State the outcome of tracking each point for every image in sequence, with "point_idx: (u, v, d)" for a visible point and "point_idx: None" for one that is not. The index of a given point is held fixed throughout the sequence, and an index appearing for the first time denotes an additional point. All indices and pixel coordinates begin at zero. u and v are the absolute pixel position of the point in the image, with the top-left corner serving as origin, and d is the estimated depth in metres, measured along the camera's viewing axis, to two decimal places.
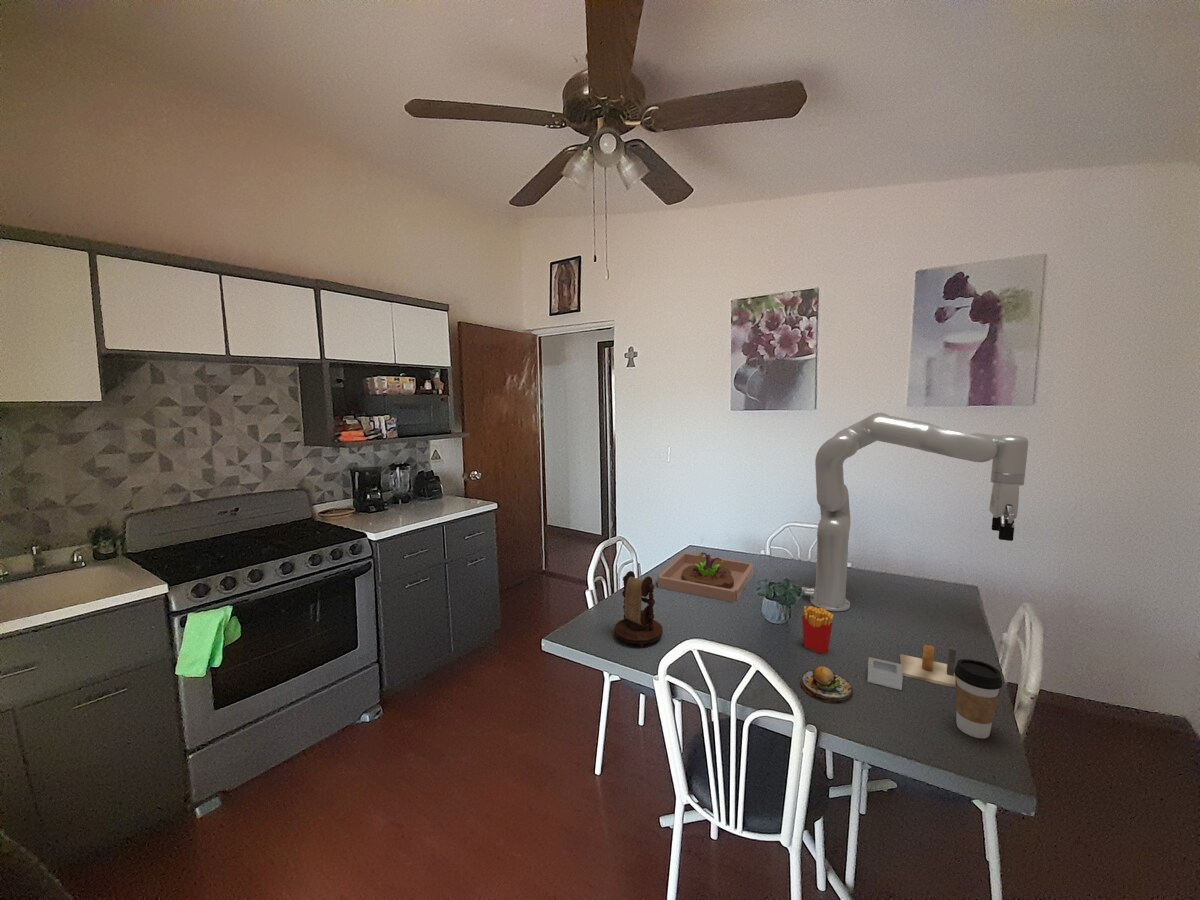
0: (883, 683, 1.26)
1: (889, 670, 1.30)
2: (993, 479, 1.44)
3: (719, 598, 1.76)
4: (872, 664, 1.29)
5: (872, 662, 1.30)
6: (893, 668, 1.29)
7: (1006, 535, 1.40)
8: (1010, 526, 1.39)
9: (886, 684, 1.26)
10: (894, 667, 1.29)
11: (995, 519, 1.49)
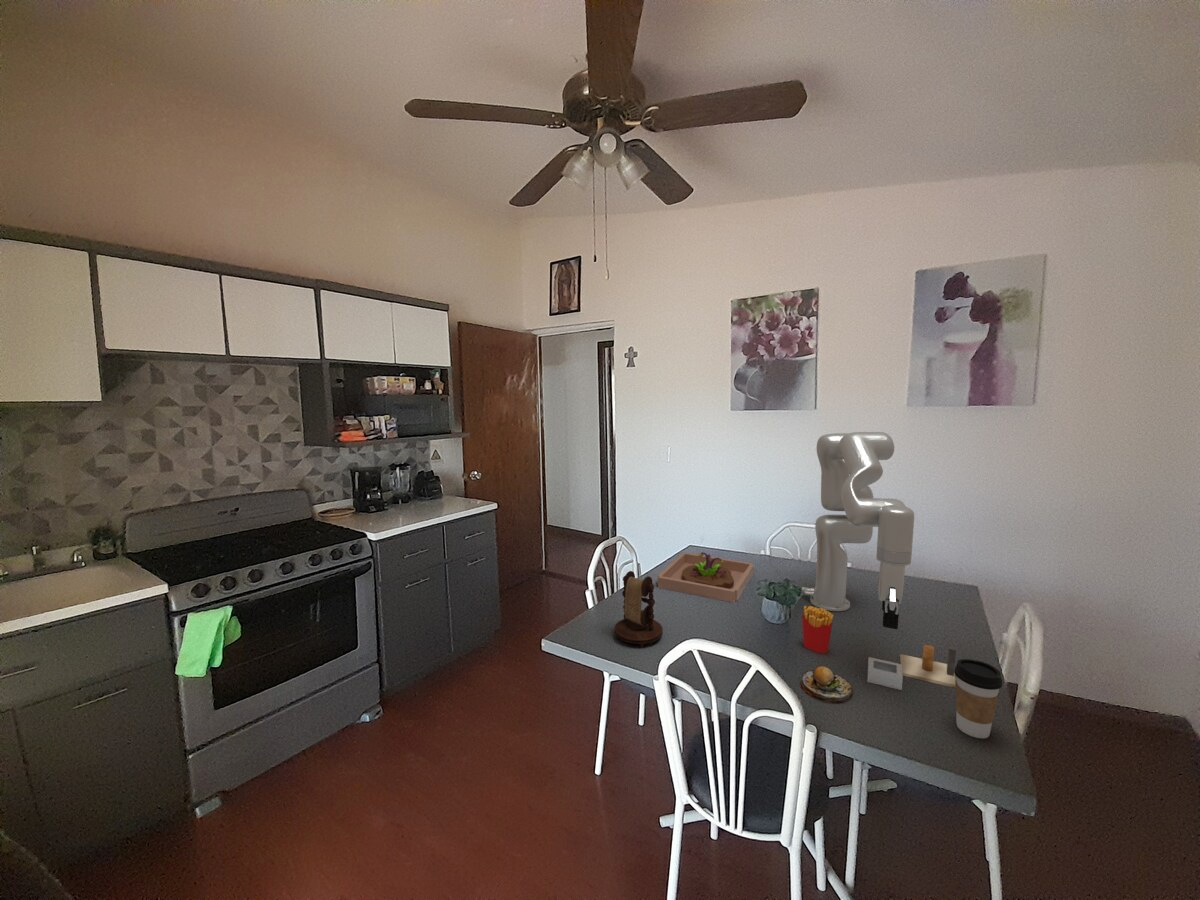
0: (883, 683, 1.26)
1: (889, 670, 1.30)
2: (878, 556, 1.25)
3: (719, 598, 1.76)
4: (872, 664, 1.29)
5: (872, 662, 1.30)
6: (893, 668, 1.29)
7: (890, 623, 1.21)
8: (893, 613, 1.20)
9: (886, 684, 1.26)
10: (894, 667, 1.29)
11: None
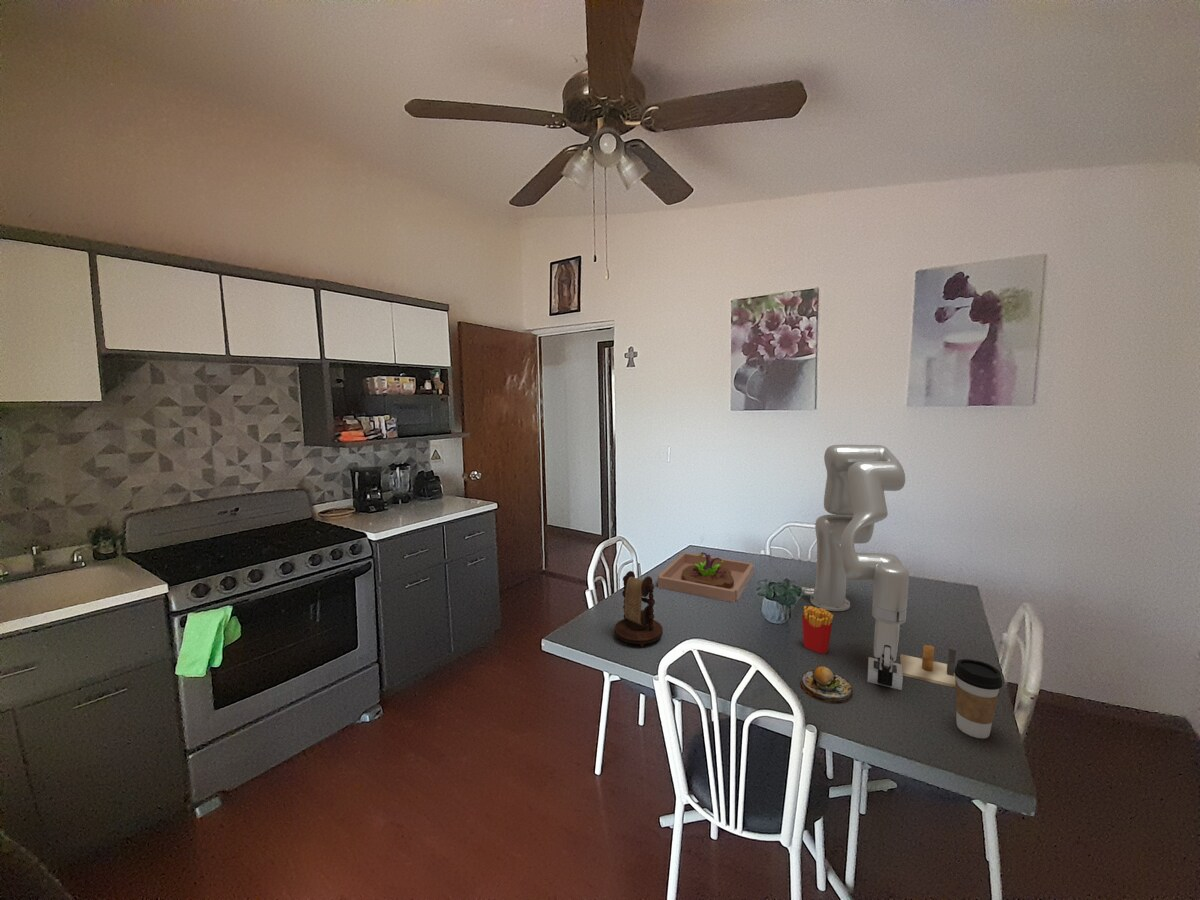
0: None
1: None
2: (873, 612, 1.27)
3: (719, 598, 1.76)
4: (872, 664, 1.29)
5: (872, 662, 1.30)
6: (893, 668, 1.29)
7: (884, 680, 1.25)
8: (888, 671, 1.23)
9: None
10: (894, 667, 1.29)
11: None
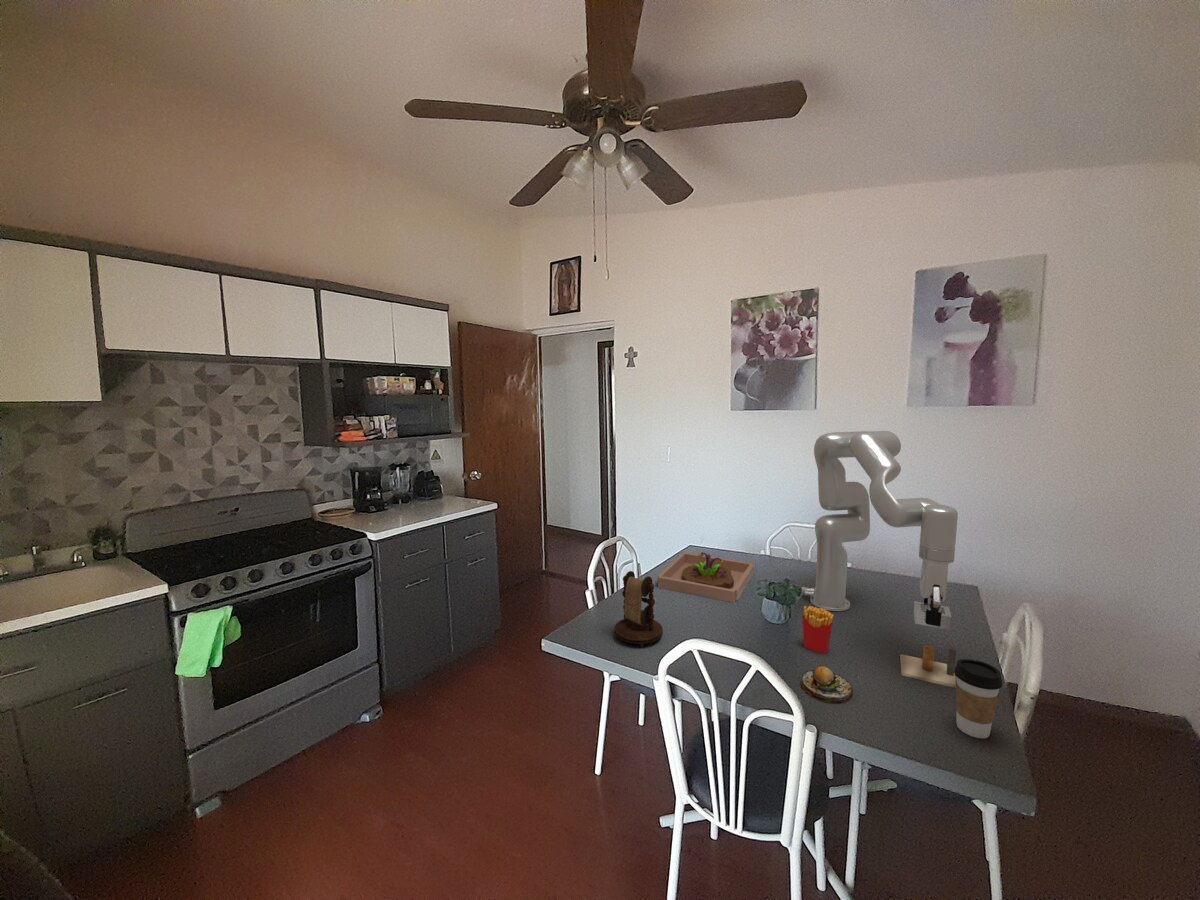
0: None
1: None
2: (921, 554, 1.27)
3: (719, 598, 1.76)
4: (919, 607, 1.30)
5: (919, 605, 1.31)
6: None
7: (933, 620, 1.25)
8: (936, 611, 1.24)
9: None
10: (941, 609, 1.30)
11: (926, 600, 1.32)
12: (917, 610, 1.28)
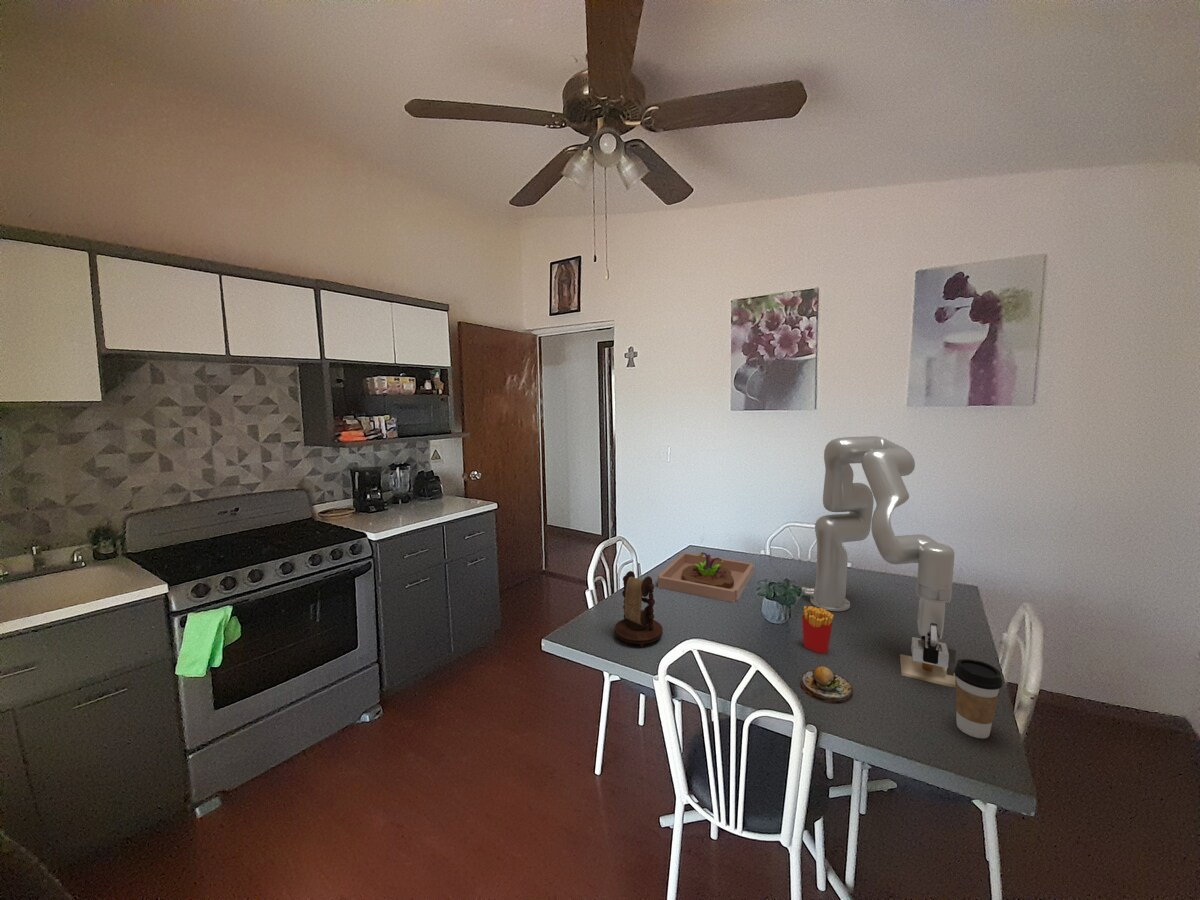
0: None
1: None
2: (918, 592, 1.29)
3: (719, 598, 1.76)
4: (917, 643, 1.32)
5: (916, 641, 1.32)
6: None
7: (930, 658, 1.27)
8: (934, 649, 1.26)
9: None
10: (938, 646, 1.31)
11: (924, 637, 1.34)
12: (915, 647, 1.30)
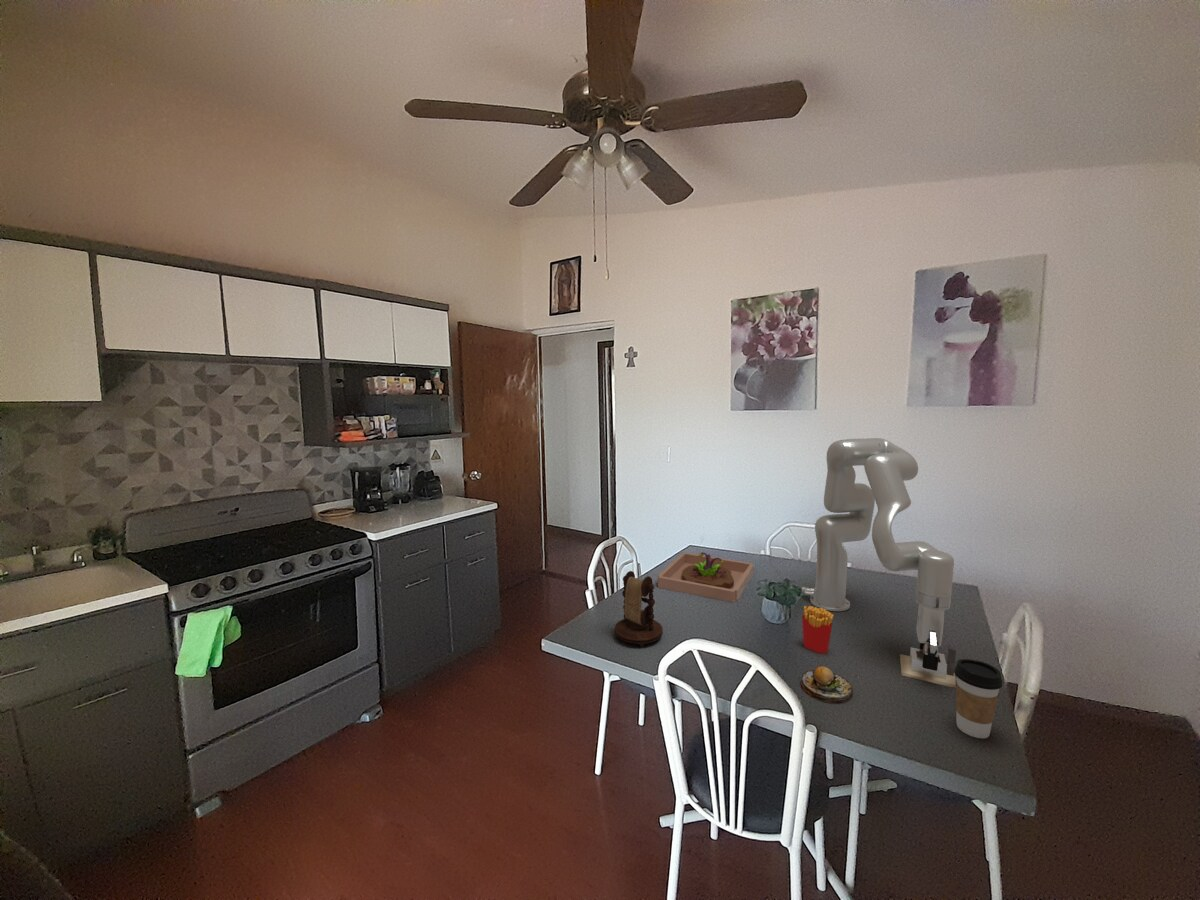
0: (927, 672, 1.29)
1: None
2: (917, 599, 1.29)
3: (719, 598, 1.76)
4: (915, 654, 1.32)
5: (915, 652, 1.33)
6: None
7: (930, 664, 1.26)
8: (933, 655, 1.25)
9: (930, 673, 1.29)
10: None
11: None
12: (913, 658, 1.30)
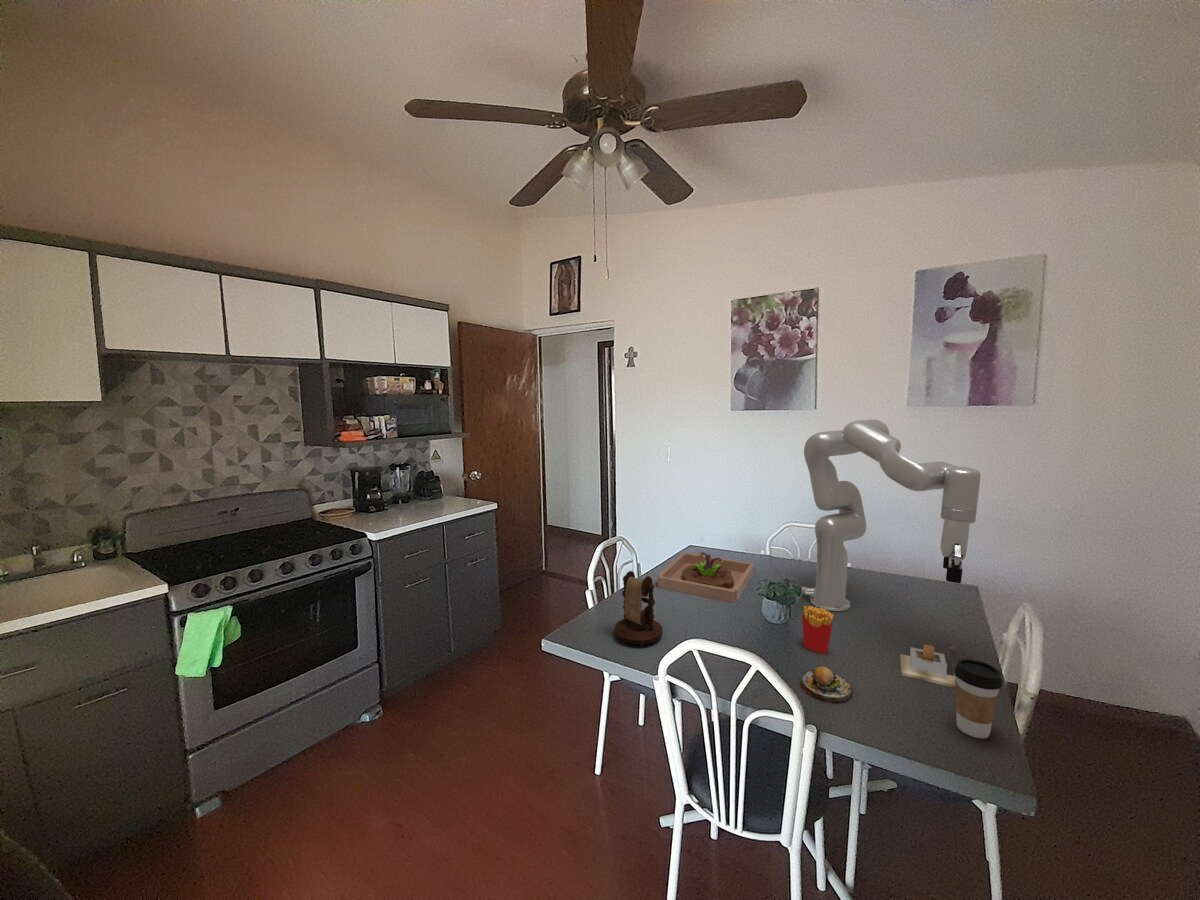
0: (927, 672, 1.29)
1: None
2: (942, 514, 1.31)
3: (719, 598, 1.76)
4: (915, 654, 1.32)
5: (915, 652, 1.33)
6: (936, 658, 1.32)
7: (953, 577, 1.28)
8: (957, 568, 1.27)
9: (930, 673, 1.29)
10: (937, 657, 1.32)
11: (946, 556, 1.37)
12: (913, 658, 1.30)
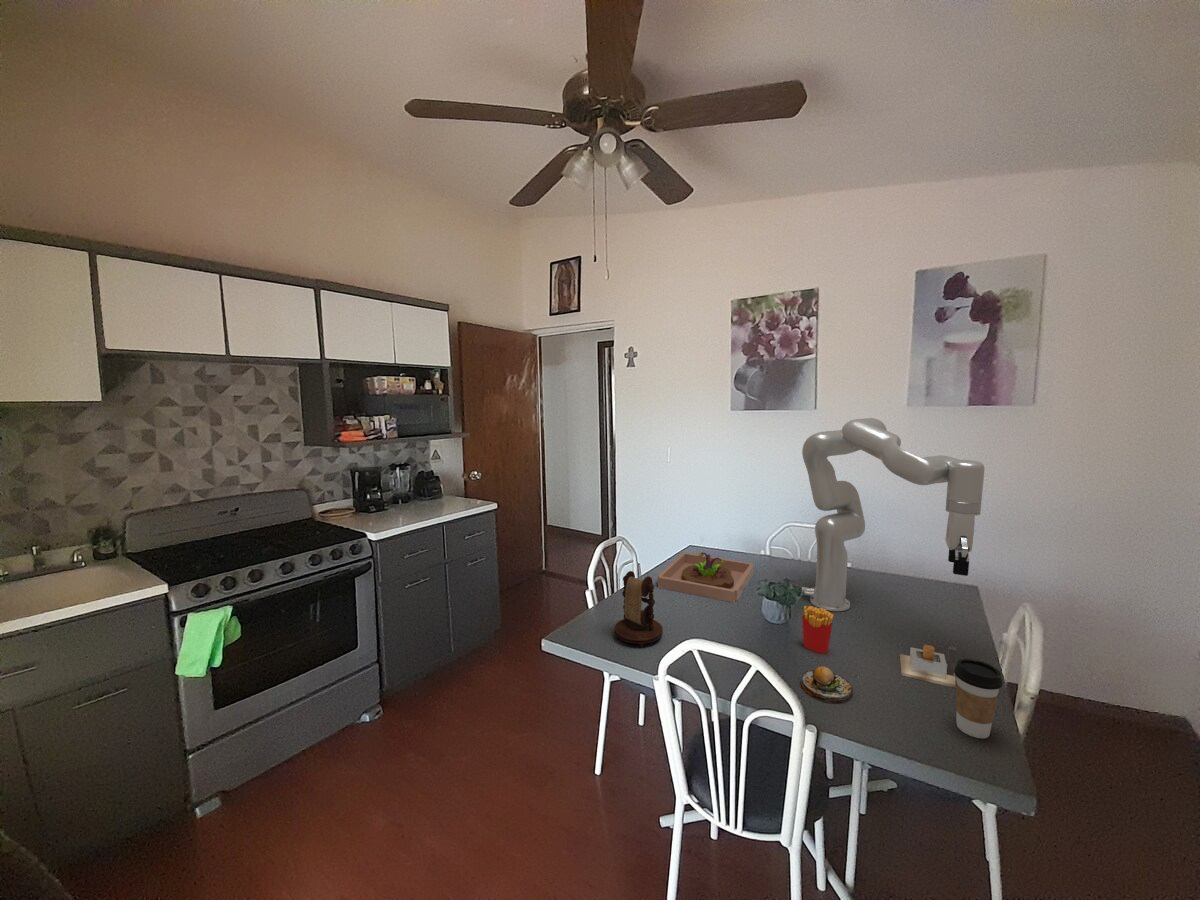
0: (927, 672, 1.29)
1: None
2: (947, 508, 1.32)
3: (719, 598, 1.76)
4: (915, 654, 1.32)
5: (915, 652, 1.33)
6: (936, 658, 1.32)
7: (960, 569, 1.28)
8: (964, 560, 1.27)
9: (930, 673, 1.29)
10: (937, 657, 1.32)
11: (952, 550, 1.37)
12: (913, 658, 1.30)
